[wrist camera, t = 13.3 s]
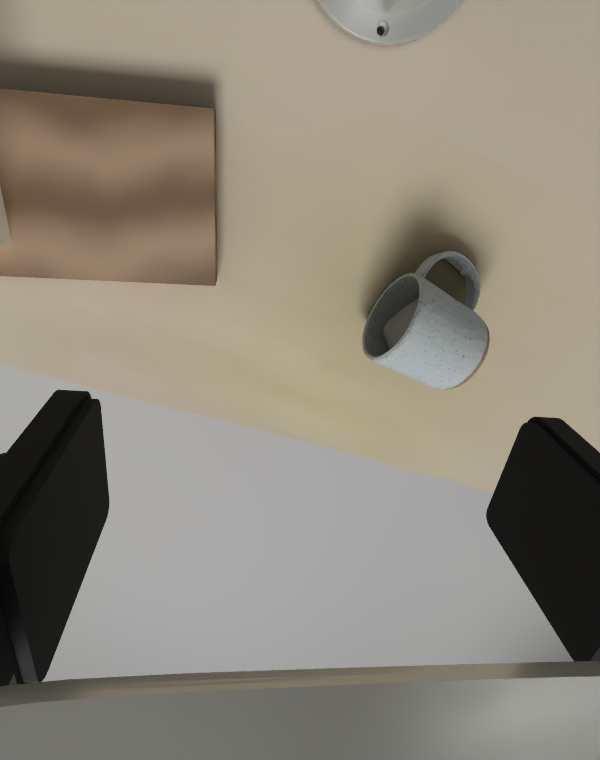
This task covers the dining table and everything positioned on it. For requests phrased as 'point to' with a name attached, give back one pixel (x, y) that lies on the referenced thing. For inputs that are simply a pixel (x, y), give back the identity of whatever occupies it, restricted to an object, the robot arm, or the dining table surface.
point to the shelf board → (108, 189)
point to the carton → (3, 224)
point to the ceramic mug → (428, 327)
